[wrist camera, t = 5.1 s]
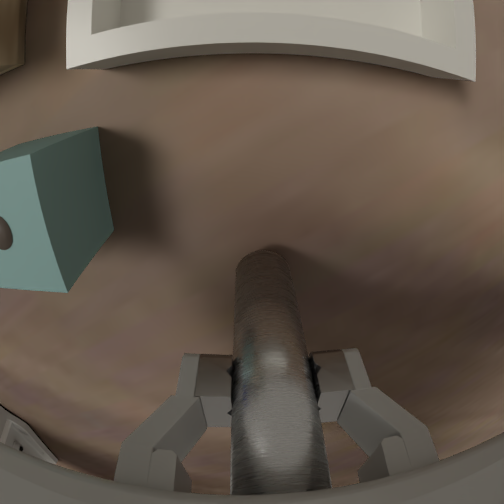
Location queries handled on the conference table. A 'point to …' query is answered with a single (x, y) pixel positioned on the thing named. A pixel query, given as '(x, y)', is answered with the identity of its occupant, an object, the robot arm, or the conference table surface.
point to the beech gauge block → (12, 34)
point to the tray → (277, 32)
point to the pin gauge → (272, 387)
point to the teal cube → (52, 210)
